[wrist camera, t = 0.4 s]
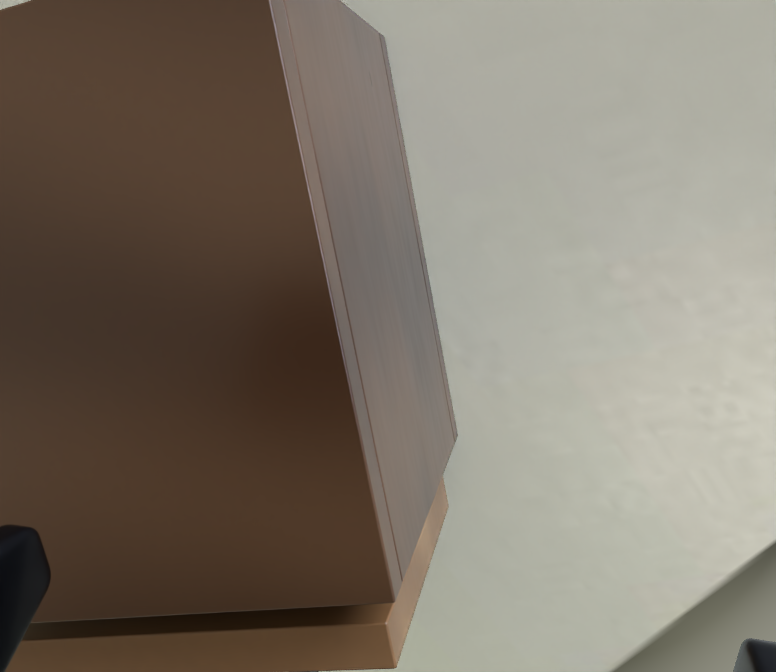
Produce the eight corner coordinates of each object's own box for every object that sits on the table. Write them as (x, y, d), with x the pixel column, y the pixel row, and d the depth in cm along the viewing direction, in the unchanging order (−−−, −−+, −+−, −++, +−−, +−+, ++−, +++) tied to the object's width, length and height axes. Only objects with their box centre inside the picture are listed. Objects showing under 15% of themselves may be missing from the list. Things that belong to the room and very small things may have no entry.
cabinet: (458, 436, 26) (395, 604, 16) (144, 471, 29) (-76, 630, 19) (384, 35, 24) (256, -71, 13) (53, 121, 27) (-253, 87, 17)
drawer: (472, 629, 26) (432, 841, 18) (188, 642, 29) (39, 830, 21) (380, 142, 23) (282, 123, 15) (75, 209, 26) (-152, 225, 18)
